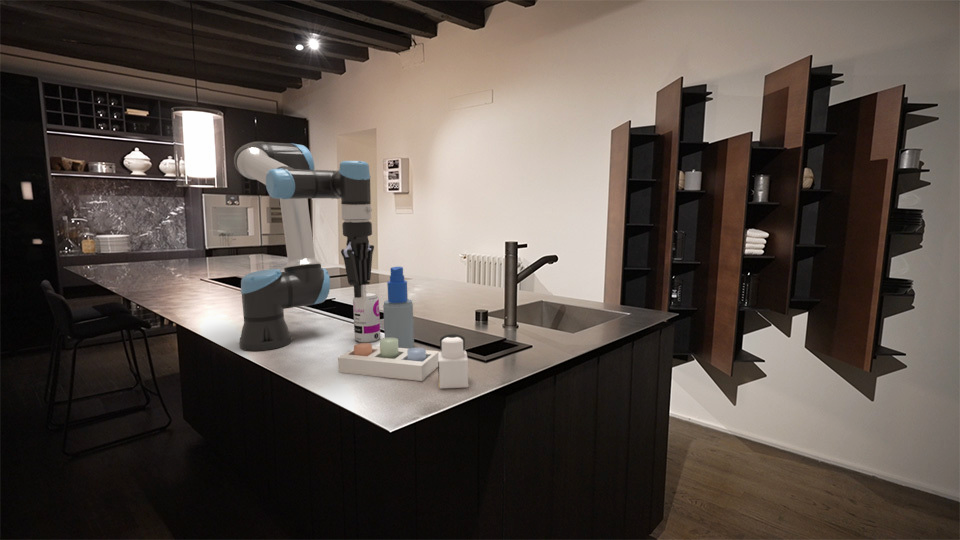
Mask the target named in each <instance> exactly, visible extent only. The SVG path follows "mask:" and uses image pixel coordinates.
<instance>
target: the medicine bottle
mask: <svg viewBox="0 0 960 540" xmlns="http://www.w3.org/2000/svg"><path fill="white" fill-rule="evenodd" d="M465 342H466V340H465V337H464V336H463V335H460V334H456V333H454V334H453V333H452V334H451V333H450V334H446V335H443V336H442V337H440V339H439V350H440V351H439V352H438V367H437V369H438V371H437V372H438V389H440V390H441V389H461V388H466V389H467V388H469V359H468V354H467V351H466V347H465V346H466V343H465Z"/></svg>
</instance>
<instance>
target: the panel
mask: <svg viewBox="0 0 960 540" xmlns="http://www.w3.org/2000/svg"><path fill="white" fill-rule="evenodd" d="M407 350H408V349H407V348H398V354H399V356H398V357H397V358H395V359H390V358H380V345H373V344H372V354H370V355H369V356H359V355H354V348H353V349H351V350H349V351H347V352H345V353H343V354H342V355H340V356H339V357H337V362H338V363H337V364H338V366H337V367H338V373H344V374H353V375H363V376H373V377H381V378H389V379H390V378H391V379H397V380H398V379H400V380H409V381H417V382H423V381H424V380H425V379H426V378H427V377H428V376H430V375H431V374H432V373H433V372H434V371H435V370H436V369H438V352H440V351H438V350H429V349H426V359H425V360H424V361H423V362H421V361H411V360H408V354H407Z"/></svg>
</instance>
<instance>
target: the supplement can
mask: <svg viewBox="0 0 960 540" xmlns="http://www.w3.org/2000/svg"><path fill="white" fill-rule="evenodd" d="M377 294H378V293H377V292H370V291H369V292H366V303H367V308H366V309H355V297H354V296H353V298H352V306H353V307H352V309H353V326H354V327H353V328H354V329H353V330H354V331H353V332H354V340H356V342H358V343H372V342H377V341H379V338H381V322H380V321H381V320H380V319H381V318H380V316H381V315H380V298H379V296H378V295H377Z"/></svg>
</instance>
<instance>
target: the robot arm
mask: <svg viewBox="0 0 960 540" xmlns="http://www.w3.org/2000/svg"><path fill="white" fill-rule="evenodd" d="M312 155H313V154H312V152H311V151H310V150H309V148H308V147H307V146H305V145H303V144H297V143H292V142H291V143H286V142H285V143H284V142H272V141H271V142H270V141H269V142H268V141H252V142H248V143H246V144H244V145H242V146H241V147H239V148H238V149H237V151H236V152H235V154H234V155H233V156H234V157H233V164H234V167H235V169H236V171H238V173H239V174H240V175H241V176H243V177H245V178H247V179H248V180H256V181H257V182H260V183H262V184H263V185H264V186H265V188H266V191H267V193H268V195H269V196H270V198H272V199H279V205H280V211H281V220H282V226H283V233H284V240H285V249H286V256H287V263H286V264H285V265H284V267H283V270H284V272H282V271H281V269H279V268H270V269H262V270H257V271H253V272H250V273H248V274H245V275H244V276H242V278H241V280H240V293H241V302H242V313H243V314H242V315H243V324H242V325H243V326H242V330H241V333H240V338H239V348H240V350H244V351H251V352H253V351H254V352H259V351H261V352H262V351H268V350H270V351H271V350H274V349H275V350H276V349H279V348H282V347H283V348H284V347H285V346H288V345H289V344H291V343H292V333H291V332H290V330H289V328H288V324H287V322H286V320H285V316H284V315H285V312H284V310H286V309H293V308H300V307H305V306H306V307H307V306H313V305H317V304H322V303H324V302H325V301H326V300H327V299H328V297H329V295H330V290H331V279H330V278H331V276H330V275H329V271H328V270H327V269H326V268H323V267H322V264H321V262H320V261H319V260H318V259H317V258H316V253H315V247H314V246H315V245H314V241H313V240H314V239H313V231H312V225H311V224H312V223H311V218H310V217H311V216H310V210H309V202H308V199H331V200H334V199H336V200H339V199H341V201H340V202H341V205H340V206H341V220H342V221H344V222H342V225H341V226H342V236H343V237H346V247H345V248H343V249H341V250H340V253H341V256H342V258H343V263H344V267H345V272H346V273H345V274H346V279H347V283H348V285H350V286H353V298H354V297H355V309H366V308H367V303H366V293H367V285H369V284H371V283H370V281H371V277H372V264H373V254H374V250H375V245H373V244H370V240H369V237H371V236H372V235H373V222H371V221H370V220H372V205H371V204H372V201H371V200H372V199H371V198H372V197H371V194H372V193H371V173H370V165H369V163H368V162H367V161H365V160H364V161H363V160H342V161H340V163H339V169H338V170H331V169H330V170H328V169H327V170H326V169H324V170H321V169H316V168H315V161H314V157H313V156H312Z"/></svg>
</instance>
